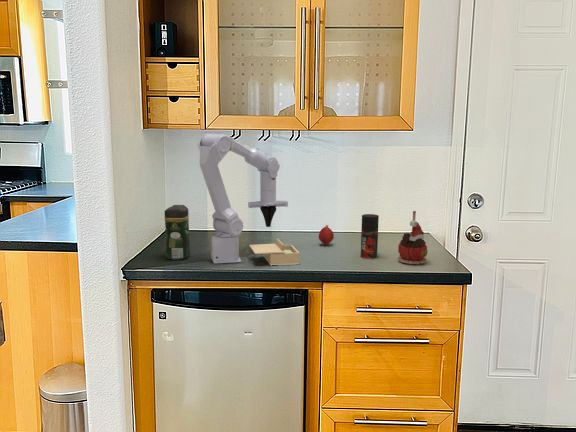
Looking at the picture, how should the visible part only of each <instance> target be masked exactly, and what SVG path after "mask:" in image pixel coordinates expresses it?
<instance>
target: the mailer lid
mask: <svg viewBox="0 0 576 432" xmlns="http://www.w3.org/2000/svg"><path fill="white" fill-rule="evenodd" d="M284 245H285V243H283V242H282V241H281V240H280V238H275V243H259V244H249V248H250V249H251V250H252V252H253V254H254V255H264V254H272V253H285V251H284Z"/></svg>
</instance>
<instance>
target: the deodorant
mask: <svg viewBox="0 0 576 432" xmlns="http://www.w3.org/2000/svg"><path fill="white" fill-rule="evenodd" d="M379 218H380V217H379V215H378V214H374V213H365V214H361V232H360V233H361V235H360V236H361V237H360V258H362V259H367V260H368V259H369V260H370V259H371V260H372V259H376V258H378V243H379V241H378V240H379V222H380V220H379Z"/></svg>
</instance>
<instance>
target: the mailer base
mask: <svg viewBox="0 0 576 432" xmlns="http://www.w3.org/2000/svg"><path fill="white" fill-rule="evenodd" d="M284 251H285V253H272V254H263V257H264V259H265V260H266V262H267V261H268V262H267V263H268V264H269V266H270V265H271V267H273V266H272V265H278V266H289V265H294V266H296V265H300V259H301V258H300V252H299V251H298V249H296V248H295V247H294V246H293V244H284Z"/></svg>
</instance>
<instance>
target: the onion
mask: <svg viewBox="0 0 576 432" xmlns="http://www.w3.org/2000/svg"><path fill="white" fill-rule="evenodd" d="M334 236H335V235H334V232H333V230H332V228H330V227H329V225H328V224H326V225H325V226H323V228H321V230H320V231H319V234H318V241H320V242H321V243H322V244H323V245H325V246H328V245H329V244H330V243H331V242H333V240H334Z"/></svg>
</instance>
